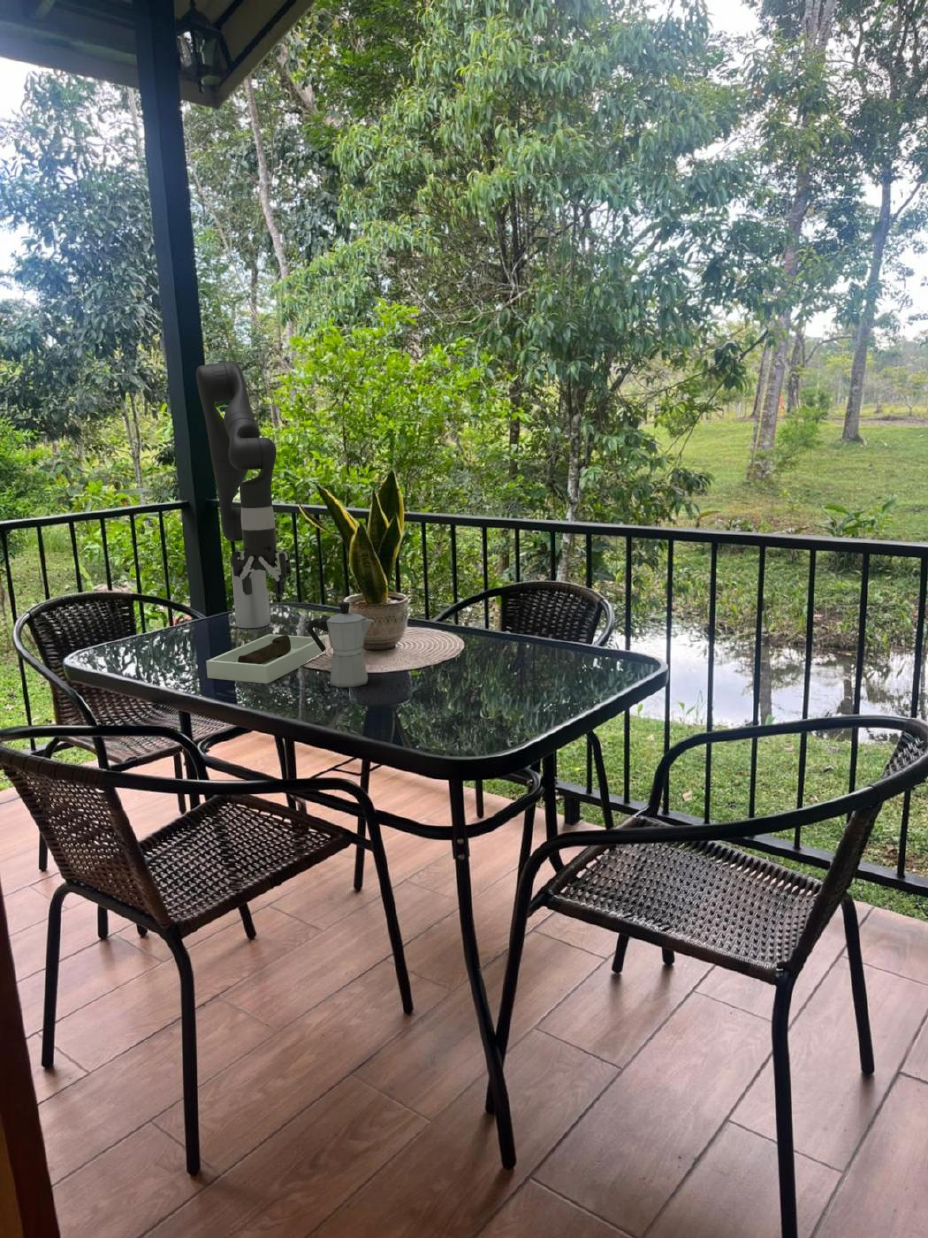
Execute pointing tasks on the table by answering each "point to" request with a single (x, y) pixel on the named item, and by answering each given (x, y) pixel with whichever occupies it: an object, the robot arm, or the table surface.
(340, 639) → the coffee maker
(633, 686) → the table surface
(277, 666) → the tray
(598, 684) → the table surface
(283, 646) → the dark brown log
